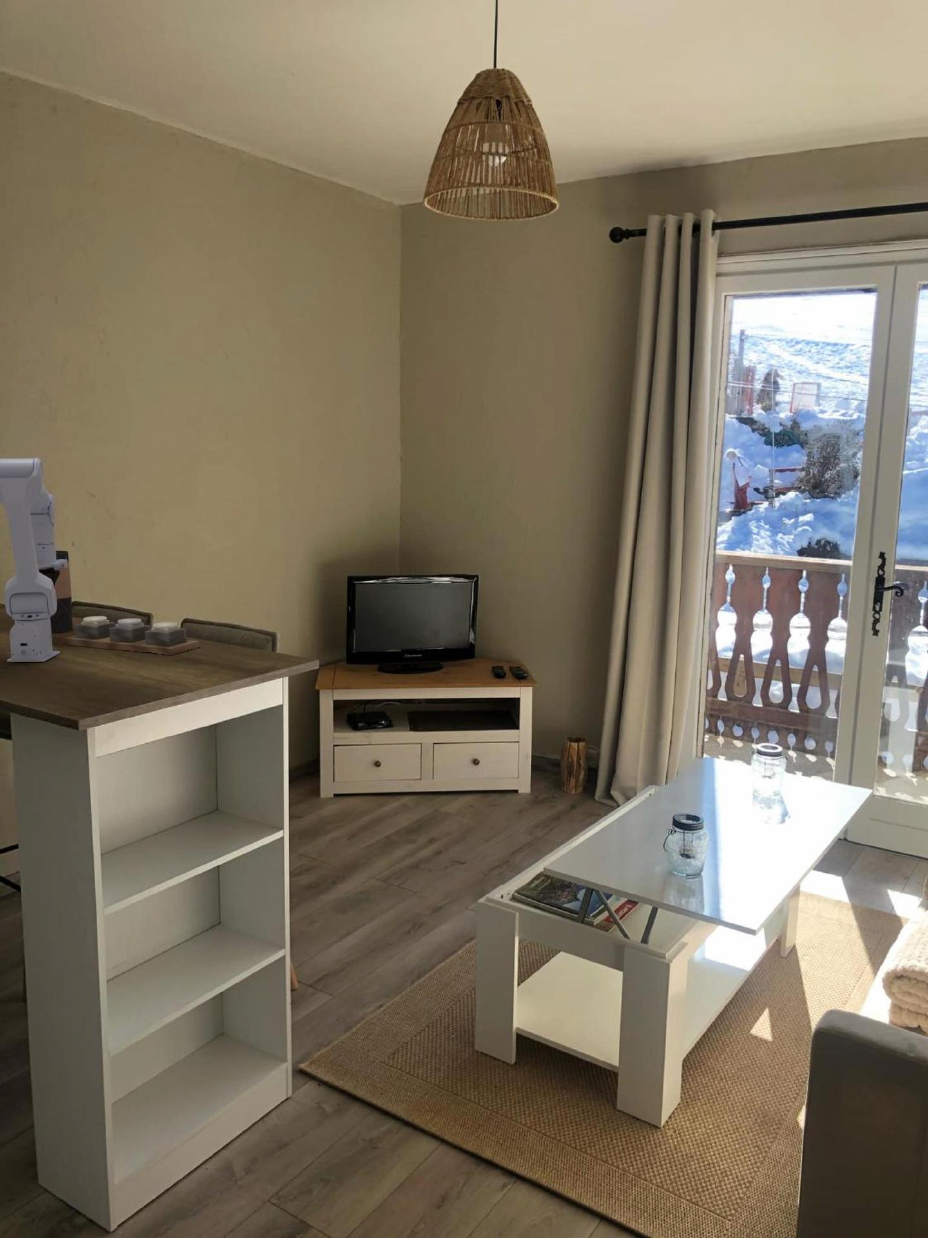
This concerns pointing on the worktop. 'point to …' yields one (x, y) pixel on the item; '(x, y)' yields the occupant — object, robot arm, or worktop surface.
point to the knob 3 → (165, 627)
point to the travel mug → (62, 598)
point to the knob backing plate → (131, 639)
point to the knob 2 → (129, 623)
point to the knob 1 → (95, 621)
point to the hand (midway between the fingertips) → (46, 601)
